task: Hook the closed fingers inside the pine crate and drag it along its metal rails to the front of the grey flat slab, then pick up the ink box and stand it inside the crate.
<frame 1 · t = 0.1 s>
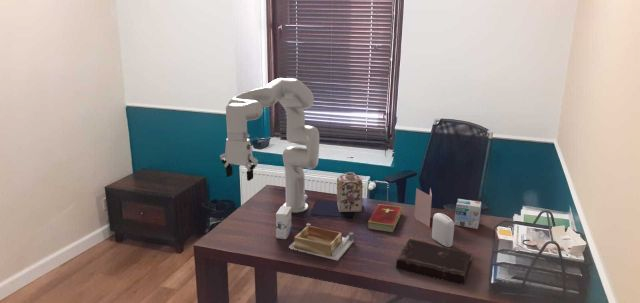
hand: (239, 177, 178), 31 cm above the table, tool pointing down, fingers open, 9 cm apart
hardcover book: (385, 222, 212), on the table
greeting card: (422, 221, 211), on the table
photo printer: (441, 242, 192), on the table
grey flat slab: (321, 244, 190), on the table
light bulb box: (466, 224, 208), on the table
decorative jar: (349, 207, 226), on the table
crate: (318, 240, 186), point 4 cm above the table, slide at 0.0 cm
diary: (434, 266, 175), on the table
ink box: (284, 234, 199), on the table
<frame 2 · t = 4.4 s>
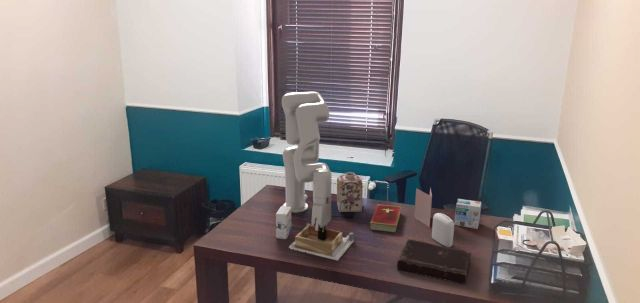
hand: (322, 239, 189), 3 cm above the table, tool pointing down, fingers closed
crate: (319, 239, 187), point 4 cm above the table, slide at 0.7 cm, touching gripper
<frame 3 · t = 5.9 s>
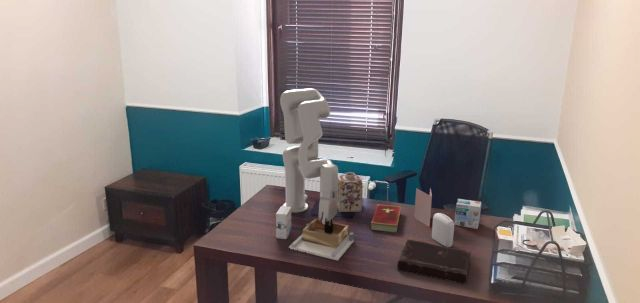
hand: (328, 232, 195), 3 cm above the table, tool pointing down, fingers closed
crate: (325, 233, 192), point 4 cm above the table, slide at 7.2 cm, touching gripper
everything else where it was.
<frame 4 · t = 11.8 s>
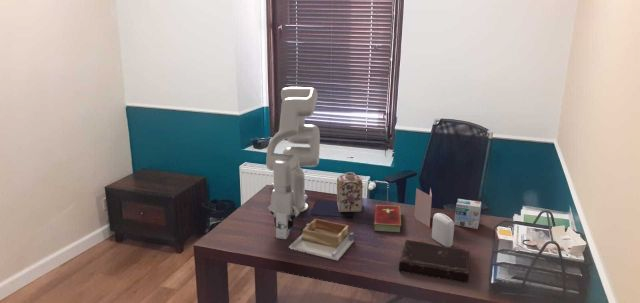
hand: (283, 225, 198), 4 cm above the table, tool pointing down, fingers closed on ink box, 5 cm apart
crate: (326, 232, 192), point 4 cm above the table, slide at 7.3 cm
ink box: (284, 234, 199), on the table, touching gripper
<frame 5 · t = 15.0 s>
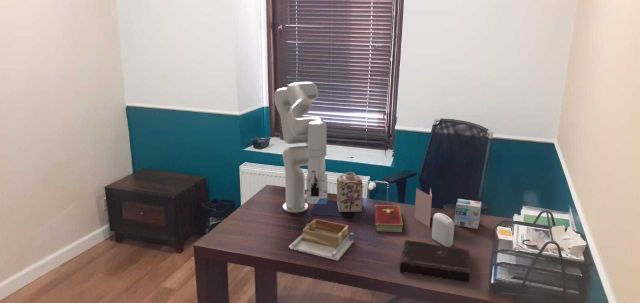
hand: (317, 192, 188), 22 cm above the table, tool pointing down, fingers closed on ink box, 5 cm apart
ink box: (317, 202, 189), point 17 cm above the table, touching gripper
when the fingers open (7 cm above the table, at t = 18.5 s): ink box drops 1 cm, resting on crate.
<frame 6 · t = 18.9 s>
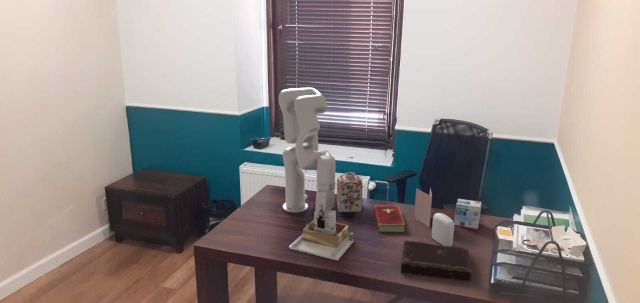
hand: (325, 223, 191), 8 cm above the table, tool pointing down, fingers open, 9 cm apart
crate: (326, 232, 192), point 4 cm above the table, slide at 7.4 cm, touching ink box
ink box: (325, 237, 193), point 2 cm above the table, touching crate
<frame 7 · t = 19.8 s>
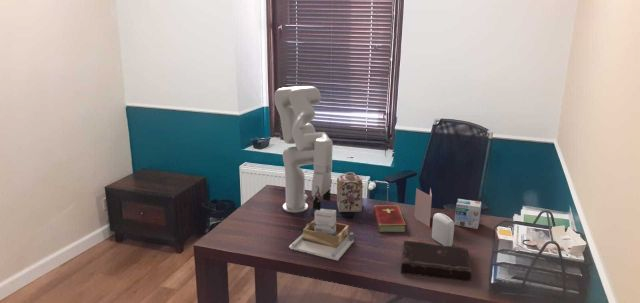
hand: (321, 204, 192), 15 cm above the table, tool pointing down, fingers open, 9 cm apart
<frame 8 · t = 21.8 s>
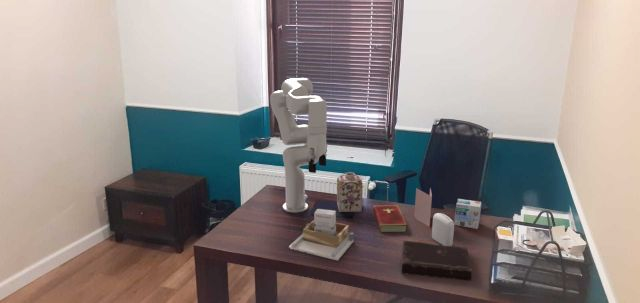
hand: (317, 168, 191), 30 cm above the table, tool pointing down, fingers open, 9 cm apart
at the end: crate slide at 7.6 cm; ink box inside the target area (0.2 cm from its centre), point 1.7 cm above the table; ink box tilted 0° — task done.
